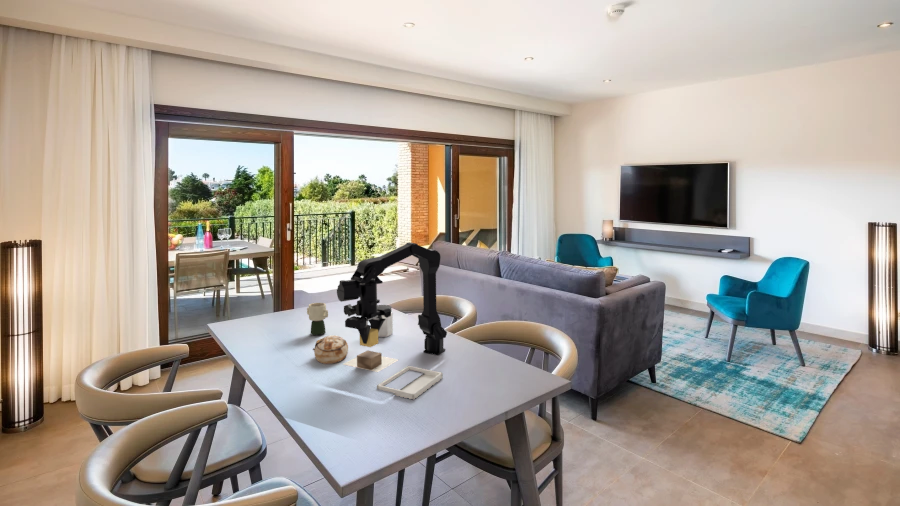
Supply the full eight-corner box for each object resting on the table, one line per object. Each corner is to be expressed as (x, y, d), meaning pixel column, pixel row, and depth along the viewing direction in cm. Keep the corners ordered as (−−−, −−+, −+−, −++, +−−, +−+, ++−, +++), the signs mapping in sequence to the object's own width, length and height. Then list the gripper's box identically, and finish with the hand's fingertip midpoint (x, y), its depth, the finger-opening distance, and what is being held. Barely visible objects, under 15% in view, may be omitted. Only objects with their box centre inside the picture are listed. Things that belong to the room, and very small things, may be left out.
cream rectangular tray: (442, 378, 151) (442, 372, 151) (413, 400, 135) (413, 394, 135) (408, 370, 157) (408, 365, 157) (376, 391, 141) (376, 385, 141)
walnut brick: (381, 364, 161) (381, 353, 160) (371, 370, 156) (371, 358, 155) (367, 361, 164) (367, 350, 163) (357, 366, 158) (356, 355, 158)
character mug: (333, 333, 197) (333, 304, 195) (322, 338, 191) (321, 307, 189) (313, 330, 202) (312, 301, 200) (302, 334, 195) (301, 304, 193)
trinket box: (339, 349, 178) (338, 329, 177) (358, 360, 167) (357, 339, 166) (305, 357, 170) (305, 336, 169) (323, 369, 158) (322, 347, 157)
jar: (371, 337, 192) (370, 309, 191) (371, 331, 200) (371, 304, 199) (392, 336, 193) (392, 309, 192) (392, 331, 201) (392, 304, 200)
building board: (399, 361, 165) (399, 359, 165) (377, 374, 154) (377, 372, 154) (365, 354, 172) (365, 352, 172) (342, 366, 161) (342, 364, 160)
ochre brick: (378, 343, 160) (378, 329, 159) (370, 347, 156) (370, 333, 155) (367, 341, 162) (367, 327, 161) (359, 345, 158) (359, 331, 157)
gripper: (366, 289, 168) (366, 330, 170) (331, 300, 152) (332, 345, 154) (391, 292, 163) (392, 335, 165) (358, 304, 147) (359, 351, 149)
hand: (369, 341), depth 158 cm, fingers closed on ochre brick, 4 cm apart
